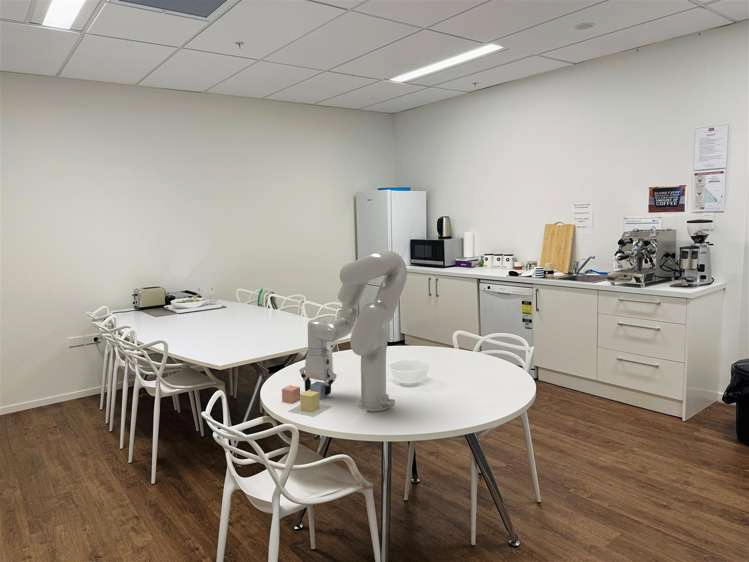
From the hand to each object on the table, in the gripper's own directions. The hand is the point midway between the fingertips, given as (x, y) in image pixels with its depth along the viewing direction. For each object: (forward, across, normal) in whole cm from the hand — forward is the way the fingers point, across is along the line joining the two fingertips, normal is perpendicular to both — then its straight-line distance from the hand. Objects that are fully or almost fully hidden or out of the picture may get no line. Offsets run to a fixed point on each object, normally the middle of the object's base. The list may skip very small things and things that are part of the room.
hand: (317, 392), depth 218 cm
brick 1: (+3, +6, +9) cm, 11 cm away
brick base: (+2, -6, +13) cm, 14 cm away
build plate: (+2, -6, +13) cm, 14 cm away
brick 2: (+2, -1, 0) cm, 3 cm away
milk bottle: (+3, +13, -24) cm, 28 cm away
